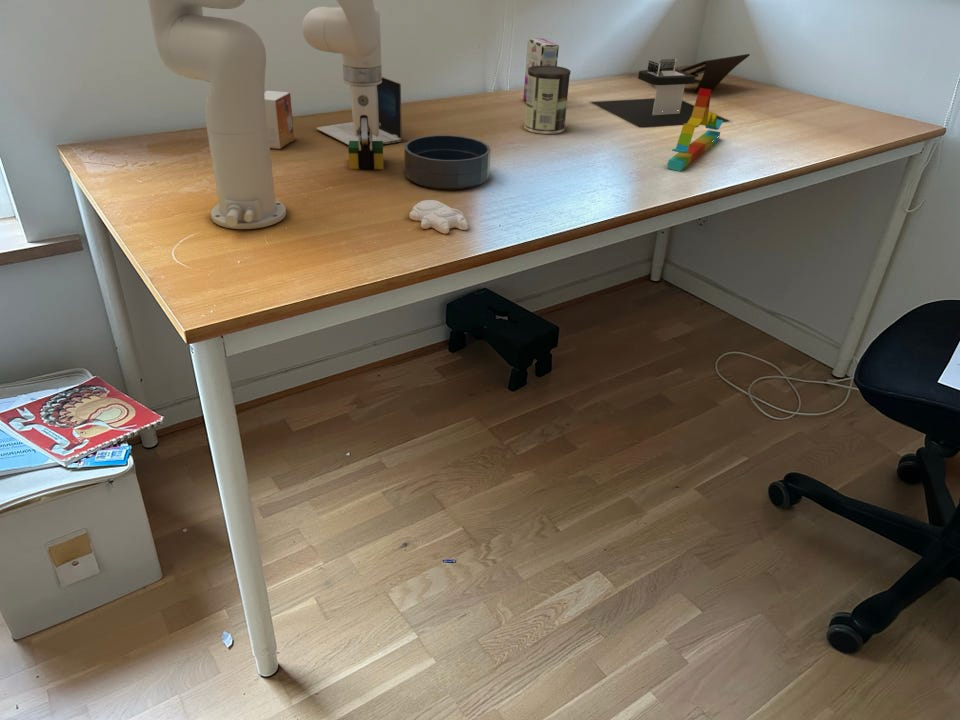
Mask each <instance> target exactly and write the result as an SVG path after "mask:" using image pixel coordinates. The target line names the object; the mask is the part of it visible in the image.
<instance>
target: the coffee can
mask: <svg viewBox="0 0 960 720" xmlns="http://www.w3.org/2000/svg"><path fill="white" fill-rule="evenodd" d="M571 73H572V71H571V69H569V68H568V67H563V66H558V65H557V66H546V65H545V66H543V65H541V66H532V67H529V68H528V83H527V99H526V101H525V113H524V125H523V127H524V129H525V130H526V131H528V132H531V133H534V134H541V135H555V134H561V133H563V132H564V131H565V130H566V128H565V127H566V115H567V104H568V97H569V87H570V76H571Z"/></svg>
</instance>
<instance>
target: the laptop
mask: <svg viewBox="0 0 960 720" xmlns="http://www.w3.org/2000/svg"><path fill="white" fill-rule="evenodd" d="M377 92H378V115H379V135H378V136H376V135H372V141H383V145H388V144H395V143H400V142H402V138H403V135H402V134H403V132H402V131H403V130H402V127H403V126H402V125H403V124H402V85H401V82H398V81H395V80H393V79H390V78H387V77H384V76H382V83H380V84H378V85H377ZM315 129H316V130H318V131H320V132H322V133H323V134H325V135H327V136H329V137H331V138H333V139H335V140H337V141H339V142H341V143H343V144H345V145H347V146H349V141H358V136H356V135H355V132H354V125H353V121H351V122H344V123H338V124H336V123H335V124H331V125H324V126H323V125H322V126H318V127H317V126H316V128H315Z"/></svg>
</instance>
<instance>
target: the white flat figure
mask: <svg viewBox="0 0 960 720" xmlns="http://www.w3.org/2000/svg"><path fill="white" fill-rule="evenodd" d="M408 216H409V219H410V220H412V221H419V222H420V227H421V229H422V230H423V229H424V230H425V229H429V228H433V229H434V230H435V231H438V232H439V233H441V234H445V235H446V234H448V233H449V232H450V229H453V228H456V229H459V230H461V231H467V230H468V228H469V222H468V220H467V218H466V216H464V212H462V211H461V210H460V209H457V208H452V207H450V206H449V205H447V204H445V203H443V202H441V201H439V200H436V199H425V200H422V201H420V202H417V203H416V204H415V205H413V207H412V209H411V211H410V212H409V215H408Z"/></svg>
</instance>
